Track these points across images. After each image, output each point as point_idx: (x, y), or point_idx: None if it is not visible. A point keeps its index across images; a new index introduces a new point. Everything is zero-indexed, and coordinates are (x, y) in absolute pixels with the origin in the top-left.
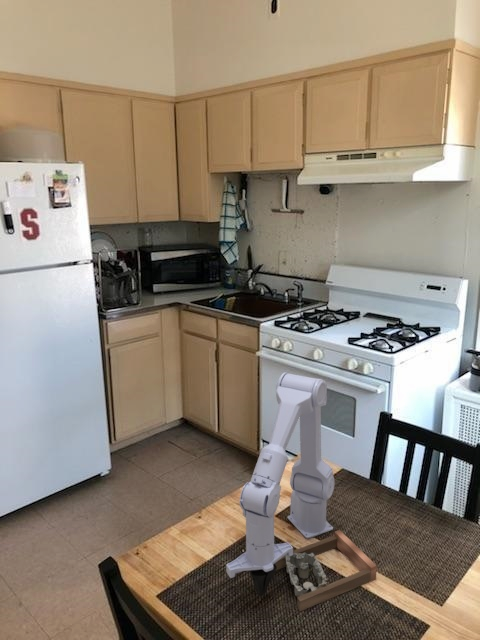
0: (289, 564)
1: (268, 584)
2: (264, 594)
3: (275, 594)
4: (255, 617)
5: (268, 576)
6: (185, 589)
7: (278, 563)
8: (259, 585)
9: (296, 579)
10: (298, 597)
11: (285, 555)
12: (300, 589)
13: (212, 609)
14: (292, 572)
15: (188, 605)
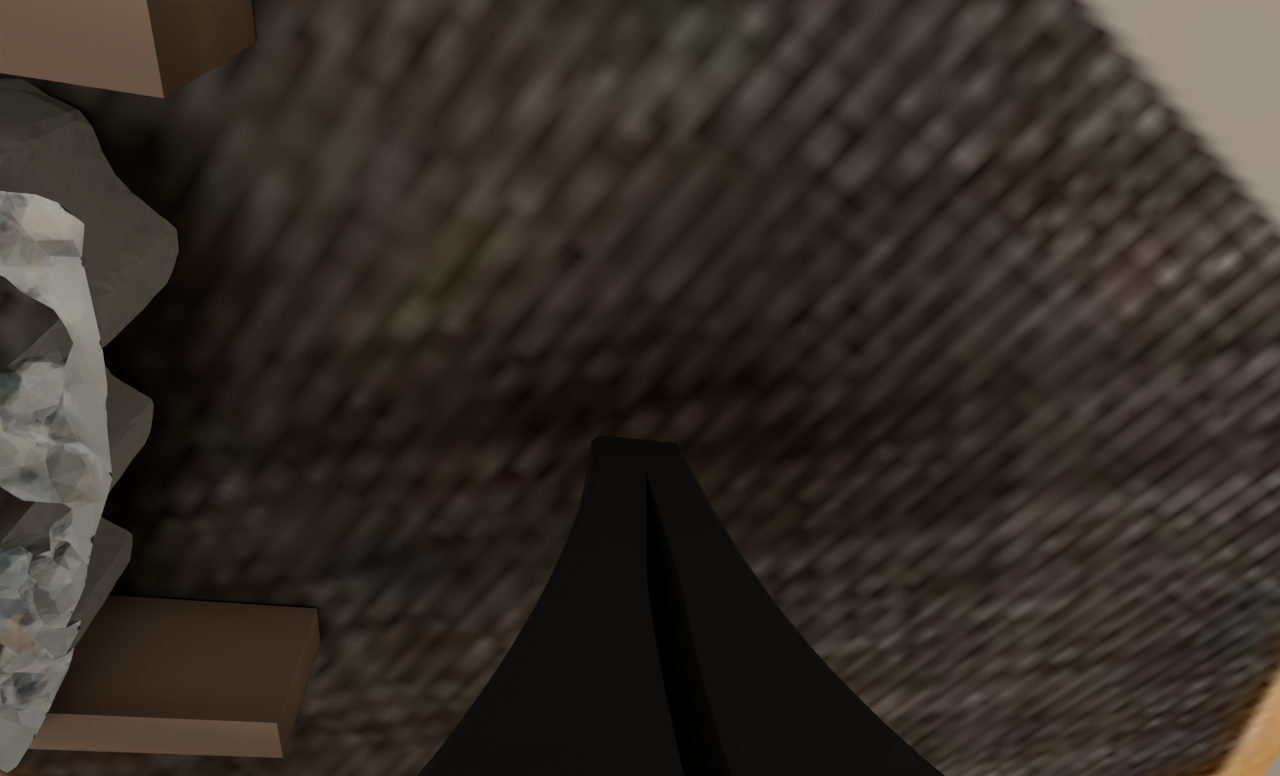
0: (24, 641)
1: (575, 554)
2: (621, 445)
3: (434, 386)
4: (875, 255)
5: (622, 746)
6: (1046, 746)
7: (182, 674)
8: (770, 613)
9: (11, 413)
10: (137, 77)
11: (25, 751)
12: (14, 216)
13: (1087, 548)
14: (41, 527)
15: (1168, 651)
